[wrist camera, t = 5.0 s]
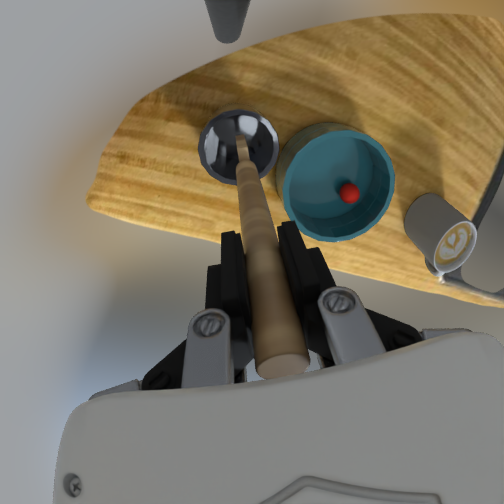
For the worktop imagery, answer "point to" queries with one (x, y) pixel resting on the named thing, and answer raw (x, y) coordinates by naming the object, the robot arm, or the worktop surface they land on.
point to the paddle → (267, 281)
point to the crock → (224, 141)
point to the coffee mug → (440, 233)
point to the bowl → (334, 181)
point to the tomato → (349, 193)
